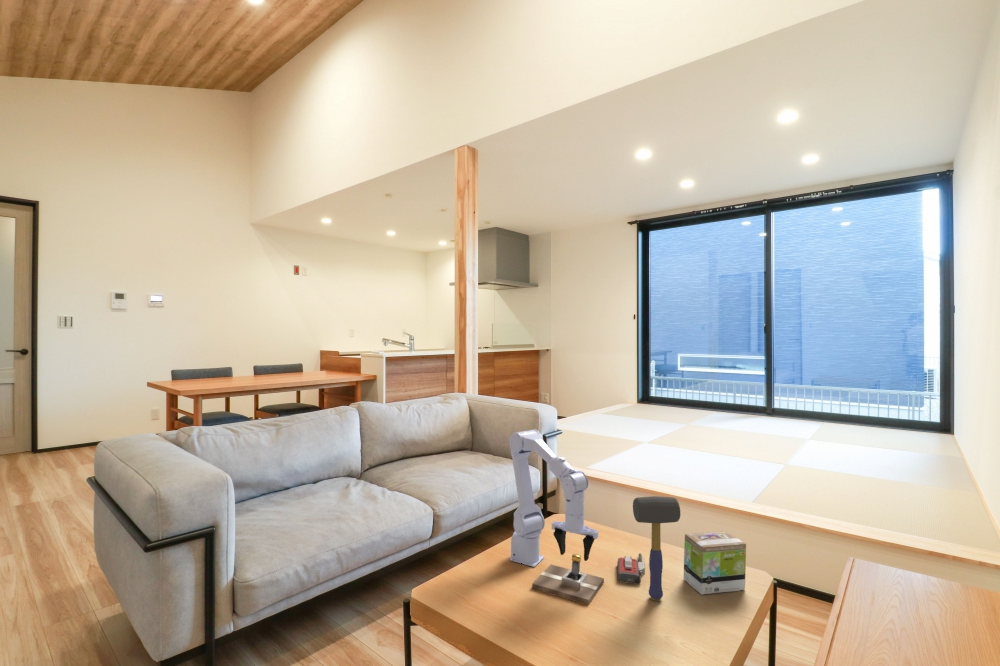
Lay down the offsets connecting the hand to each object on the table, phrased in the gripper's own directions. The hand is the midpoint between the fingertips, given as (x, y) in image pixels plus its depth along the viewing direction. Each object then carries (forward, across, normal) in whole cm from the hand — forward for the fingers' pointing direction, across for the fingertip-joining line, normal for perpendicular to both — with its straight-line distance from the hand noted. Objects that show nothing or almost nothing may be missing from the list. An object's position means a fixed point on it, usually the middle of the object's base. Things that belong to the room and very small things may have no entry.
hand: (574, 556), depth 150 cm
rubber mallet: (+10, -23, -6) cm, 26 cm away
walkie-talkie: (+10, -12, -20) cm, 25 cm away
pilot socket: (+8, 0, 0) cm, 8 cm away
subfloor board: (+9, +2, 0) cm, 10 cm away
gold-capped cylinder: (+8, 0, 0) cm, 8 cm away
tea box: (+10, -37, -23) cm, 45 cm away
